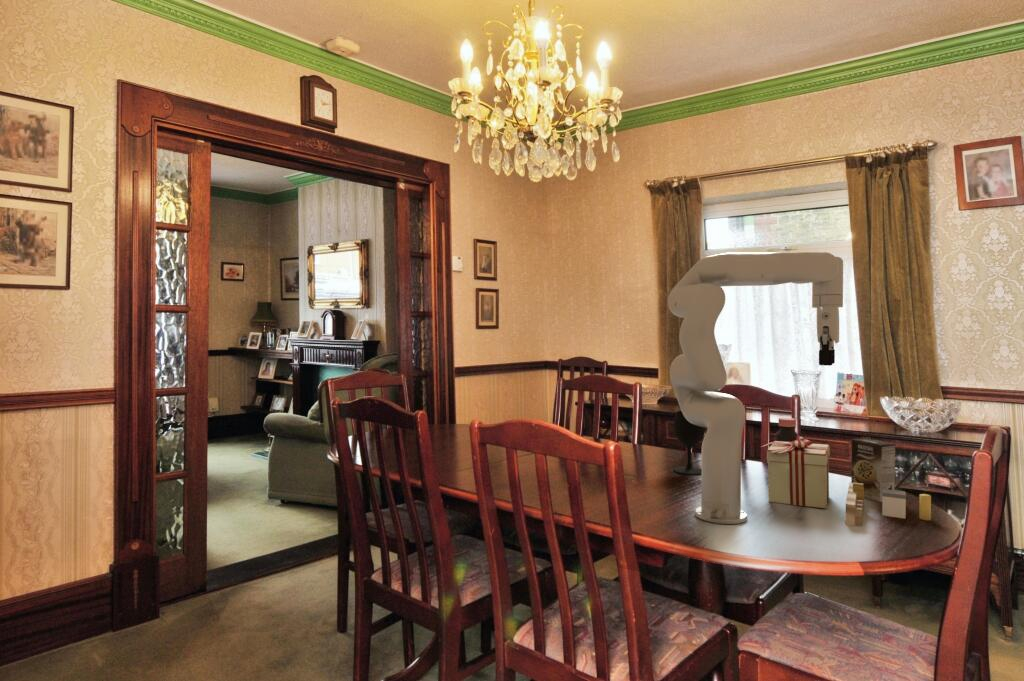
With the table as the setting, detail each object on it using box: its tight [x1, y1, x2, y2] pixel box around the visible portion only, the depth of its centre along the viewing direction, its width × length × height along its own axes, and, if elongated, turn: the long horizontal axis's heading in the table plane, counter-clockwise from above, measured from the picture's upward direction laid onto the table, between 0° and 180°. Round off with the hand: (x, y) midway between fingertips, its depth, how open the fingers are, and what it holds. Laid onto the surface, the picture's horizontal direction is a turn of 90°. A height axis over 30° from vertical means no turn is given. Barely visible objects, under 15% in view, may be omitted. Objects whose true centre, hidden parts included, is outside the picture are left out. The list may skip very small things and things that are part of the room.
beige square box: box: [881, 489, 907, 519], centre depth 155 cm, size 4×5×6 cm
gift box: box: [760, 435, 831, 510], centre depth 169 cm, size 17×18×17 cm
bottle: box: [774, 417, 800, 442], centre depth 187 cm, size 7×7×20 cm
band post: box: [918, 493, 932, 521], centre depth 151 cm, size 2×2×6 cm
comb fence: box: [844, 482, 865, 527], centre depth 157 cm, size 24×4×7 cm, turn 148°
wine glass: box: [672, 410, 707, 476], centre depth 202 cm, size 10×10×20 cm
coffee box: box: [850, 437, 896, 503], centre depth 171 cm, size 9×6×16 cm
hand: (826, 364), depth 165 cm, fingers open, 9 cm apart
